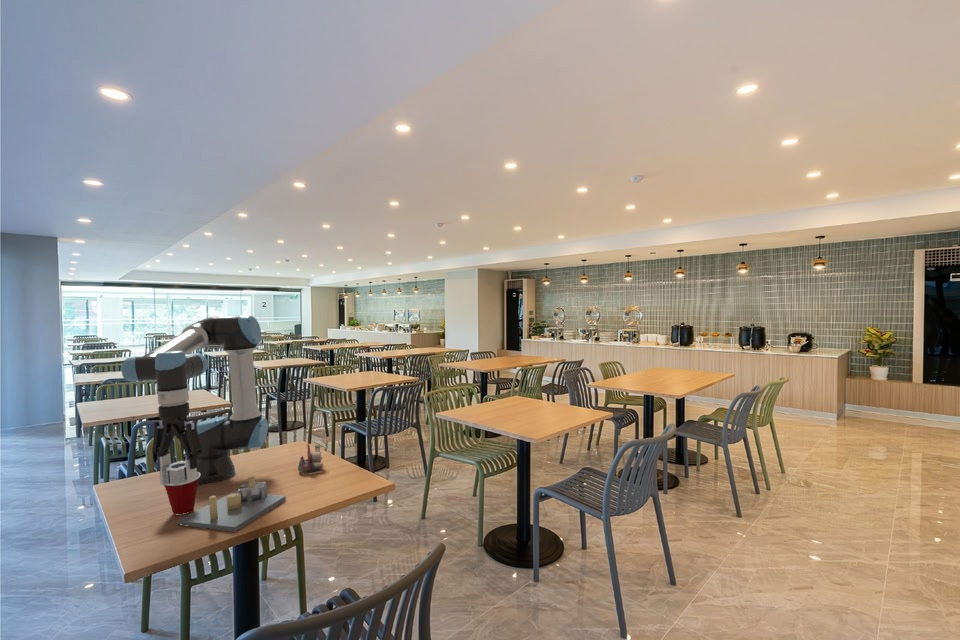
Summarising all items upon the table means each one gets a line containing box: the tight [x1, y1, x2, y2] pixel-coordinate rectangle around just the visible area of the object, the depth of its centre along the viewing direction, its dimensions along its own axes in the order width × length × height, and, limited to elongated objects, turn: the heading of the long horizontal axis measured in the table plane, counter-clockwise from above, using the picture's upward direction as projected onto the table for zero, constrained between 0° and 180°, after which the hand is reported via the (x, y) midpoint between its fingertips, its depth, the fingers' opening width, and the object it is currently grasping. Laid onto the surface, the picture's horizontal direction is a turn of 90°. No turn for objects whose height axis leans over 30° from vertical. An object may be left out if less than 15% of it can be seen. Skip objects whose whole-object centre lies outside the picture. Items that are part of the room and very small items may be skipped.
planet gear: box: [159, 460, 187, 486], centre depth 134 cm, size 9×9×4 cm
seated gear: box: [237, 480, 268, 503], centre depth 156 cm, size 9×8×4 cm
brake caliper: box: [297, 442, 324, 476], centre depth 185 cm, size 11×11×12 cm
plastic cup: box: [163, 472, 201, 515], centre depth 150 cm, size 11×11×12 cm
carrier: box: [177, 475, 287, 533], centre depth 148 cm, size 22×22×8 cm
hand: (179, 478), depth 134 cm, fingers closed on planet gear, 9 cm apart
